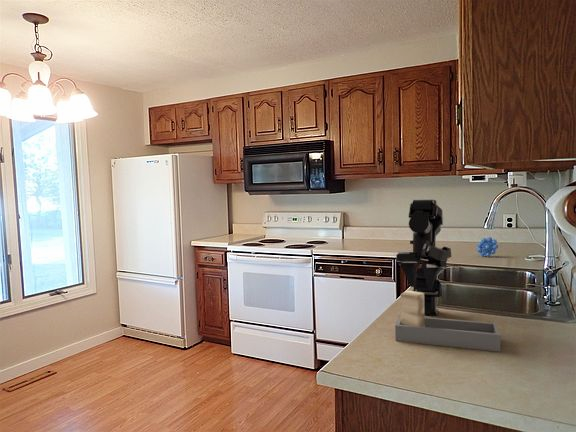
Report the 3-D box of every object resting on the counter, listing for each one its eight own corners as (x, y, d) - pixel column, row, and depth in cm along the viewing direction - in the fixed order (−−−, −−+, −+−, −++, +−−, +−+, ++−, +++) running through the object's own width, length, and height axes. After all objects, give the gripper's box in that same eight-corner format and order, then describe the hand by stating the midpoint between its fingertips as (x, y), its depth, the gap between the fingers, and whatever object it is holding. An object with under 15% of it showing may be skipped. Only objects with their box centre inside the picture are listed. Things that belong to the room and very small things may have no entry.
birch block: (408, 326, 125) (408, 290, 125) (424, 329, 122) (424, 292, 121) (401, 330, 122) (400, 294, 121) (417, 334, 118) (417, 296, 118)
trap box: (399, 329, 129) (399, 315, 128) (496, 338, 119) (496, 323, 118) (395, 340, 120) (395, 325, 119) (500, 351, 109) (500, 335, 109)
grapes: (499, 256, 247) (499, 236, 246) (497, 258, 241) (497, 237, 241) (477, 255, 253) (477, 235, 253) (476, 257, 248) (476, 237, 247)
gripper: (427, 231, 119) (426, 286, 117) (462, 241, 131) (461, 291, 128) (395, 234, 128) (394, 285, 125) (430, 242, 139) (430, 289, 136)
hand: (421, 288), depth 128 cm, fingers open, 9 cm apart
